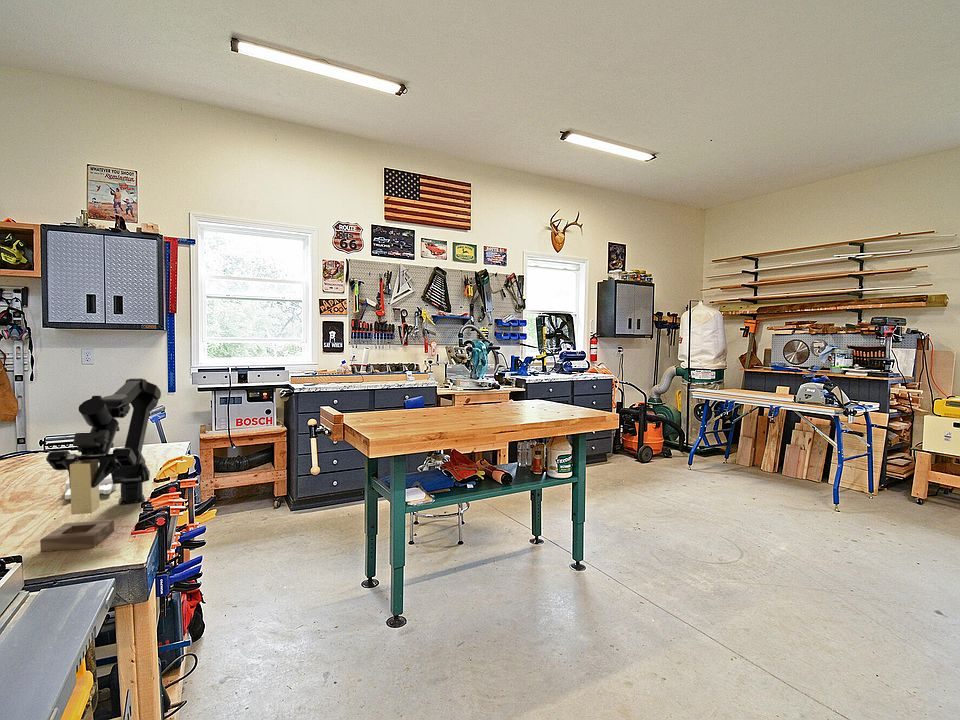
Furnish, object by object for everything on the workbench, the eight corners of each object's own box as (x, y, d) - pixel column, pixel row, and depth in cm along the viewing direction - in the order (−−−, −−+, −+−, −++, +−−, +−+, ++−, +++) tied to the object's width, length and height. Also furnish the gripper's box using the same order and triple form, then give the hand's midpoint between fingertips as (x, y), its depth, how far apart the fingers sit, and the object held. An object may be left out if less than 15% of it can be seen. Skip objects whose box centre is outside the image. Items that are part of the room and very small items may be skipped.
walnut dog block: (65, 534, 129) (65, 523, 129) (114, 530, 132) (114, 519, 131) (40, 551, 118) (40, 539, 118) (94, 547, 121) (93, 535, 121)
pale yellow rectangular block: (80, 508, 129) (78, 460, 129) (99, 507, 131) (98, 459, 130) (71, 514, 125) (69, 464, 124) (91, 513, 126) (90, 463, 126)
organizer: (121, 460, 189) (113, 483, 159) (122, 473, 189) (113, 498, 159) (78, 465, 182) (60, 490, 152) (78, 478, 182) (61, 505, 152)
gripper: (48, 420, 128) (23, 474, 118) (131, 418, 133) (113, 469, 123) (66, 444, 136) (44, 495, 126) (143, 441, 141) (127, 490, 131)
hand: (82, 487), depth 126 cm, fingers closed on pale yellow rectangular block, 4 cm apart
